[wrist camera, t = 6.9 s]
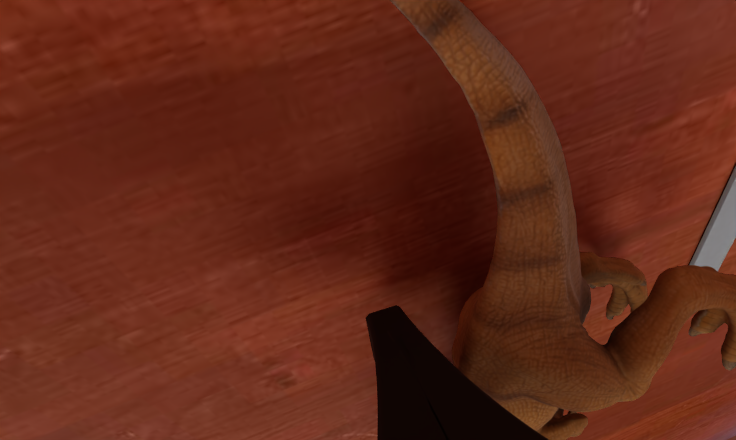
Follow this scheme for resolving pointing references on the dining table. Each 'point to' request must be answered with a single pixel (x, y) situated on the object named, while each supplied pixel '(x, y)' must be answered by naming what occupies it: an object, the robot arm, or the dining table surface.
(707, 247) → the tape line
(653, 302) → the dinosaur figurine
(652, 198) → the dining table surface
